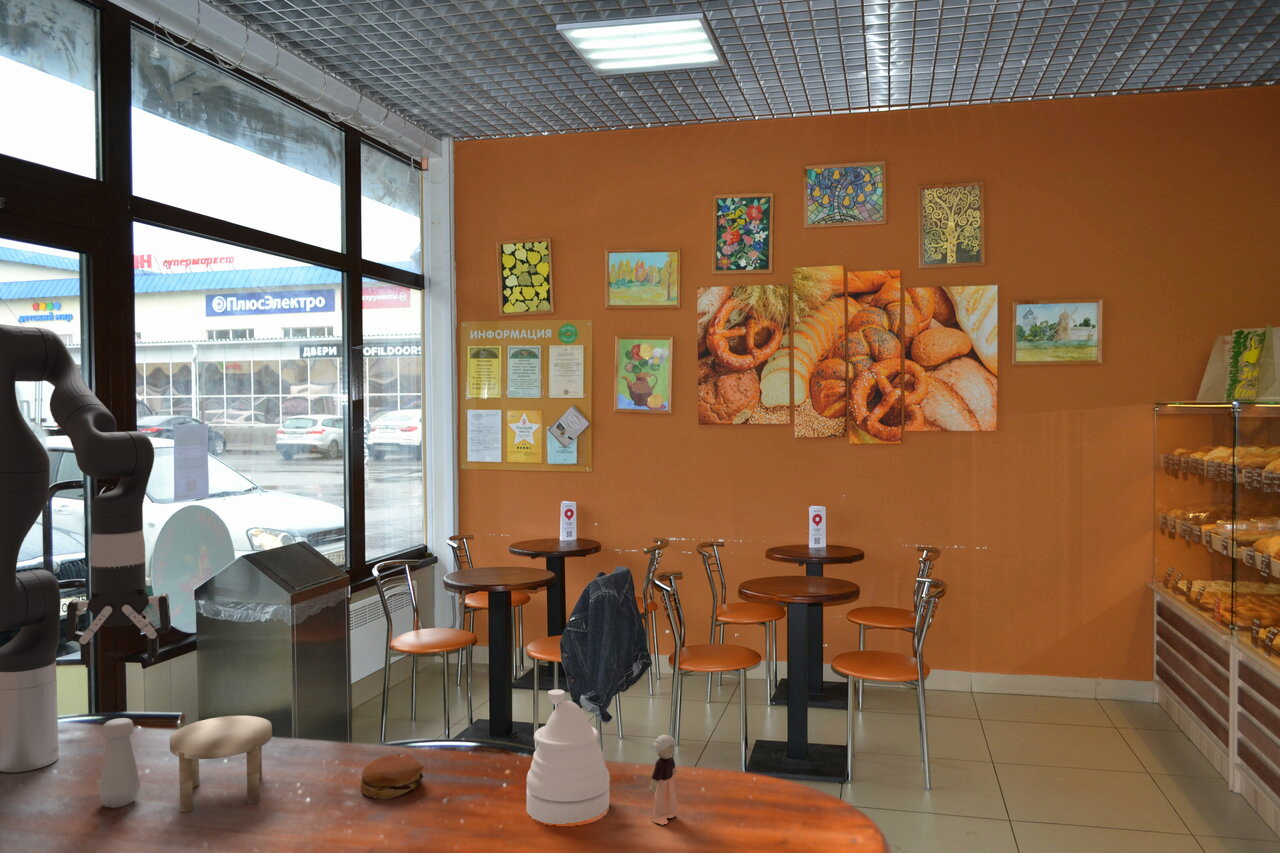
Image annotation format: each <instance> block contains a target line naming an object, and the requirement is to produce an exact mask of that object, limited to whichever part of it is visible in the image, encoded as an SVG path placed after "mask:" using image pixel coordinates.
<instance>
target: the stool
mask: <svg viewBox="0 0 1280 853" xmlns="http://www.w3.org/2000/svg"><path fill="white" fill-rule="evenodd" d="M272 737H273V726H272V722H271V721H270V720H268V719H266V718H263V717H259V716H254V715H227V716H218V717H212V718H208V719H204V720H203V719H202V720H198V721H195V722H192V723H189V724H186V725H184V726H182V727H180V728H179V729H177V730H174V732H172V734H171V735H170V736H169V750H170V753H171V754H173V755H174V756H176V757H178V769H179V770H178V771H179V773H178V775H179V776H178V777H179V811H180V812H181V813H186V812H187V813H188V812H190V811H193V809H194V798H193V797H194V794H193V793H194V792H193V791H194V790H193V788H197V787H199V786H200V760H213V759H222V758H229V757H234V756H238V755H242V754H245V755H246V796H247V797H246V799H247V800H246V802H247V803H248V804H255V803H258V802H260V800H261V798H260V796H261V795H260V779H262V778H263V750H262V749H263V748H262V747H263V746H265V745H266V744H267V743H269V742H270V741H271V739H272ZM261 777H262V778H261ZM259 778H260V779H259Z"/></svg>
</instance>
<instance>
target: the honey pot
mask: <svg viewBox="0 0 1280 853" xmlns="http://www.w3.org/2000/svg"><path fill="white" fill-rule="evenodd" d="M547 695H548V699H549V701H550V703H552V704H553V705H558V706H557V707H555V709H554V710H553V711H552V713H551V714H550V716H549V718H548V720H547V722H546V724H545V725H544V726H541V727H540V728H538V729H537V730H536V731H535V732H534V735H533V740H534V741H535V743H536V744H537V747H536V749H535V751H534V752H533V755H532V761H531V764H530V768H529V770H528V772H527V775H526V780H525V781H526V813H527V812H528V813H527V815H528V814H529V815H530V816H531V817H532V818H533V819H536V820H538V821H540V822H544V823H551V824H556V823H557V824H566V823H575V822H581V821H584V820H588V819H590V818H593V817H595V816H598V815H600V814H601V813H603V812H604V811H605V810H606V809H607V808H608V806H609V804H610V800H611V799H610V796H611V795H610V772H609V771H610V770H609V769H608V768H607V766H606V761H605V759H604V752H603V750H602V749H601V748H600V744H599V742H598V739H599V736H600V734H599V731H598V729H597V728H595V727H594V726H592V725H591V723H590V720H589V719H588V717H587V715H586V714H585V712H584V710H582V708H581V707H580V706H579V705H578V704H577V703H575V702H573V701H570V700H564V698H565V690H563V689H560V688H559V689H551V690H548V692H547ZM532 818H531V819H532ZM533 819H532V820H533Z"/></svg>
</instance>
